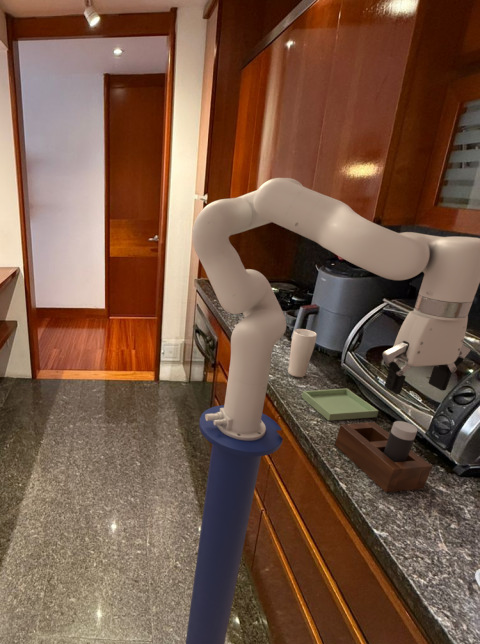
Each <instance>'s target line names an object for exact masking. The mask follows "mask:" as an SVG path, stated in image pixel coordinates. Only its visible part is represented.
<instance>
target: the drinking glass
mask: <svg viewBox="0 0 480 644" xmlns="http://www.w3.org/2000/svg"><path fill="white" fill-rule="evenodd" d="M317 337H318V334H317V333H316V332H315V331H313V330H311V329H305V328H297V329H294V330H293V332H292V337H291V342H290V352H289V361H288V368H287V373H288V374H289V375H290V376H292V377H295V378H303V377H305V376H306V375H307V370H308V367H309V364H310V361H311V358H312V355H313V352H314V349H315V346H316V341H317Z"/></svg>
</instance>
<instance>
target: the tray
mask: <svg viewBox="0 0 480 644" xmlns="http://www.w3.org/2000/svg"><path fill="white" fill-rule="evenodd" d="M301 398H302V399H303V400H304V401H305V402H306V403H308V404H309V405H310V406H311V407H312V408H313V409H315V411H316V412H318V413H319V414H320V415H321V416H322V417H324V418H325V419H326V420H327V421H329V422H330V421H343V420H356V419H357V420H359V419H369V418H377V417H378V415H379V410H378V409H377V408H375V407H374V406H373V405H371V404H370V403H369V402H367V401H365V400H364V399H363V398H362V397H360V396H359V395H357V394H356V393H354V392H353V391H351V390H350V389H349V388H332V389H329V388H328V389H316V390H315V389H314V390H303V391H302V394H301Z"/></svg>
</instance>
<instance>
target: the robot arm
mask: <svg viewBox="0 0 480 644" xmlns="http://www.w3.org/2000/svg"><path fill="white" fill-rule="evenodd" d="M271 223H273V224H276V225H277V226H280V227H281V228H284V229H286V230H289V231H291V232H292V233H295V234H298V235H300V236H301V237H304V238H306V239H309V240H310V241H313V242H315V243H317V244H318V245H319V246H321V247H322V248H323V249H326V250H328V251H329V252H331V253H333V254H334V255H336V256H338V257H340V258H341V259H343V260H345V261H346V262H349V263H351V264H353V265H355V266H356V267H359V268H361V269H364V270H365V271H368V272H370V273H372V274H374V275H377V276H379V277H381V278H384V279H386V280H392V281H405V280H409V279H412V278H414V277H416V276H418V275H419V274H421V273H423V278H422V282H421V285H420V288H419V292H418V294H417V297H416V300H415V304H414V307H413V310H410V311H409V312H408V314H406V317H405V318H404V321H403V322H402V324H401V325H400V329H399V331H398V333H397V336H396V338H395V341H394V344H393V346H392V347H391V348H388V349H387V350H384V351H383V352H382V354H381V355H382V359H383V364H384V366H385V368H386V370H387V371H388V373H387V376H386V379H385V383H384V388H385V389H387V390H388V391H390V392H392V393H394V394H395V395H400V394H401V392H402V390H403V386H404V383H405V380H406V375H404V374H405V373H407V372H408V371H409V370H410V369H411V368H412V367H415V368H416V367H432V366H433V369H432V371H431V373H430V378H429V379H428V384H429V385H430V386H432V387H434V388H436V389H437V390H440V391H442V392H443V391H446V390H447V388H448V385H449V382H450V380H451V377H452V375H453V373H455V372H456V371H457V370H458V368H457V367H458V366H459V365H461V364H462V363H463V362H464V359H465V358H467V355H469V353H470V352H471V348H469V347H468V346H466V345H464V340H465V336H466V332H467V328H468V327H467V326H468V320H469V313H470V310H471V307H472V305H473V302H474V299H475V296H476V294H477V292H478V288H479V285H480V238H479V237H472V236H439V235H431V234H425V233H420V232H412V231H405V232H396V231H394V230H391V229H389V228H386V227H384V226H383V225H382V226H381V225H379V224H377V223H375V222H373V221H370V220H368V219H367V218H365V217H363V216H361V215H360V214H358V213H357V212H355V211H354V209H352V208H351V206H349V205H348V204H346V203H345V202H343V201H341V200H339V199H336V198H334V197H331V196H328V195H326V194H323V193H321V192H318V191H315V190H313V189H310V188H308V187H306V186H304V185H303V184H302V183H301V182H299V180H297V179H294V178H291V177H274V178H271V179H269V180H267V181H265V182H263V183H262V184H261V185H260V186H259V188H258V189H257V190H254V191H251V192H248V193H245V194H242V195H239V196H238V197H232V198H222V199H217V200H214V201H211V202H210V203H208V204H207V205H206V206H204V207H203V208H202V210H201V211H200V212H199V213H198V215H197V216H196V218H195V220H194V222H193V225H192V230H191V240H192V246H193V248H194V252H195V253H196V256H197V258H198V259H199V261H200V264H201V265H202V267H203V269H204V271H205V274H206V277H207V279H208V281H209V283H210V285H211V287H212V289H213V292H214V294H215V296H216V298H217V300H218V303H219V304H220V306H221V308H222V309H223V310H224V311H225V312H226V313H227V314H231V315H240V314H242V316H243V317H244V318H242V319H241V320H240V321H238V323H237V324H236V325H235V326H234V327H233V330H232V333H231V336H230V359H229V360H230V362H229V368H228V369H229V370H228V376H227V385H226V390H225V398H224V404H223V405H224V408H220V412H217V413H216V414H206V415H205V419H206V421H213V423H214V425H217V427H218V428H219V430H220V431H221V432H223V433H224V434H226V435H227V436H229V437H232V438H235V439H238V440H244V441H252V440H257V439H260V438H261V437H263V436H264V434H265V431H266V427H265V424H264V423H263V422H262V421H261V417H262V413H263V411H264V405H265V401H266V395H267V389H268V385H269V380H270V379H269V378H270V373H271V367H272V354H273V349H274V346H275V345H276V344H277V343H278V341H279V340H280V339H281V338H282V337H283V336H284V334H285V333H286V331H287V319H286V317H285V314H284V311H283V309H282V307H281V305H280V302H279V301H278V299H277V297H276V294H275V293H274V290H273V288H272V286H271V284H270V282H269V280H268V279H267V277H266V276H265V275H264V274H263V273H261V272H260V271H258V270H256V269H250V268H247V269H246V268H245V266H244V264H243V262H242V260H241V257H240V255H239V253H238V252H237V249H235V248H234V246H233V245H232V243H231V241H230V239H229V238H230V237H231V236H233V235H236V234H240V233H243V232H246V231H249V230H253V229H256V228H259V227H261V226H265V225H268V224H271ZM401 363H402V365H401V366H399V365H400V364H401Z"/></svg>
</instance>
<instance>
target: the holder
mask: <svg viewBox="0 0 480 644" xmlns="http://www.w3.org/2000/svg"><path fill="white" fill-rule="evenodd" d="M389 435H390V433H389V432H388V431H386V430H385V429H384V428H383V427H381V426H380V425H378V424H377V423H376V422H374V421H371V422H357V423H346V424H345V423H344V424H340V425H339V429H338V432H337V436H336V439H335V443H334V446H335V447H336V448H337V449H338V450H339V451H340V452H342V453H343V454H344V455H345V456H346V457H347V458H348V459H349V460H350V461H351V462H353V464H355V466H357V467H358V468H359V469H360V470H361V471H362V472H364V474H365V475H366V476H367V477H369V479H371V480H372V481H373V482H374V483H375V484H376V485H377V486H378V487H379V488H380V489H382V490H383V492H384V493H391V492H392V493H393V492H403V491H412V490H414V491H415V490H424V488H425V486H426V484H427V481H428V478H429V477H430V473H431V471H432V470H433V465H432V464H430V463H429V462H428V461H426V460H425V459H424V458H422V457H421V456H420V455H419V454H417V453H416V452H414V450H412V449H410V452H409V455H408V457H407V460H406V461H405V462H393V461H392V460H391V459H390V458H389V457H387V456H386V455H385V454H384V450H385V447H386V444H387V441H388V438H389Z"/></svg>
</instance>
